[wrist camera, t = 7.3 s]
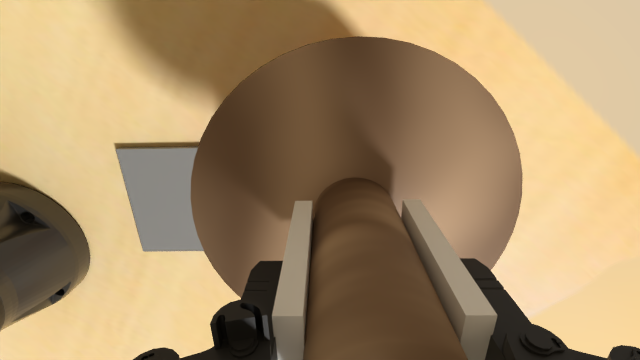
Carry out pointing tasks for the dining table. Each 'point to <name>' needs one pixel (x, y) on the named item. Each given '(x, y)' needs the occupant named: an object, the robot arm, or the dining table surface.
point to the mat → (161, 196)
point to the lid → (358, 187)
